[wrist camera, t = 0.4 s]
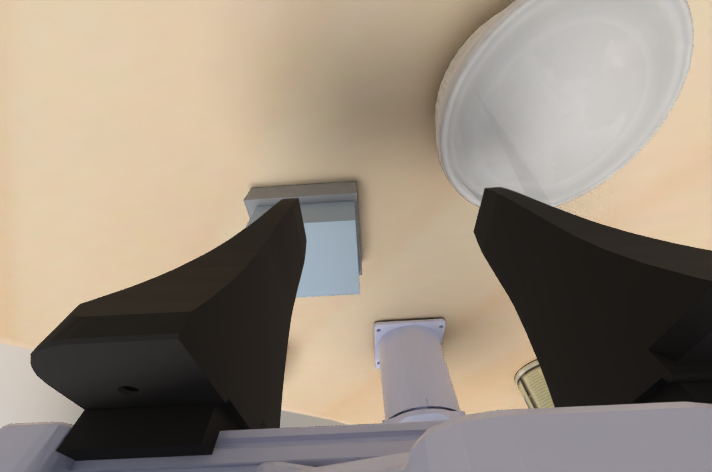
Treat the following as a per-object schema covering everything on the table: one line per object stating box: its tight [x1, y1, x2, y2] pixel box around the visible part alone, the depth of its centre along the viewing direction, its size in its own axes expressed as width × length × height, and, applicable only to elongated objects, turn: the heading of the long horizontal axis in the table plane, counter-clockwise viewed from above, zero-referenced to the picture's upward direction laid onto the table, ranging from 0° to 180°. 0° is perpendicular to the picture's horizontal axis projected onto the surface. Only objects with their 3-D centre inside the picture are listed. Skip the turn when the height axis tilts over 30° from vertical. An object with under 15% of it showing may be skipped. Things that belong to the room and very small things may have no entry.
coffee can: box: [515, 360, 555, 409], centre depth 33 cm, size 10×10×14 cm
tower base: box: [244, 181, 362, 275], centre depth 23 cm, size 8×8×2 cm
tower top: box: [246, 201, 360, 297], centre depth 21 cm, size 7×7×2 cm
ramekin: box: [434, 0, 694, 207], centre depth 15 cm, size 11×11×5 cm
